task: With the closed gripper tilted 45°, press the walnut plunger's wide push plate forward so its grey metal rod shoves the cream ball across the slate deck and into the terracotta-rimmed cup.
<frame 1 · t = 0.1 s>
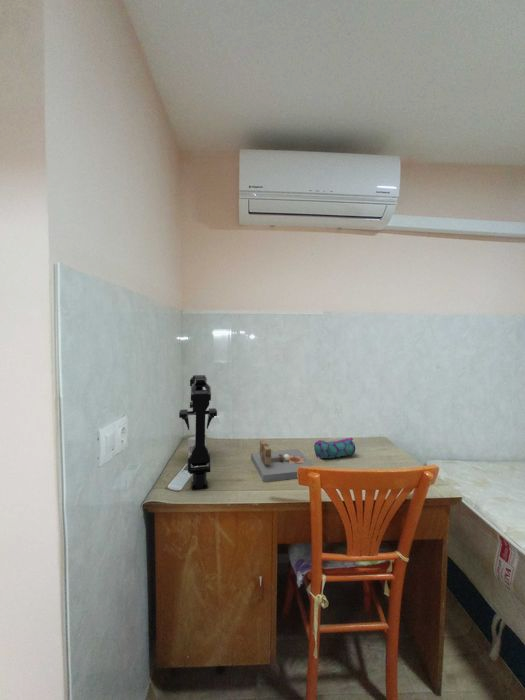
hand: (198, 429, 143), 15 cm above the table, tool pointing down, fingers open, 9 cm apart
pencil case: (334, 456, 149), on the table
ink box: (197, 459, 141), on the table
ball: (286, 457, 135), point 4 cm above the table, touching deck
deck: (282, 466, 135), on the table
plunger: (272, 452, 133), point 8 cm above the table, slide at 0.0 cm
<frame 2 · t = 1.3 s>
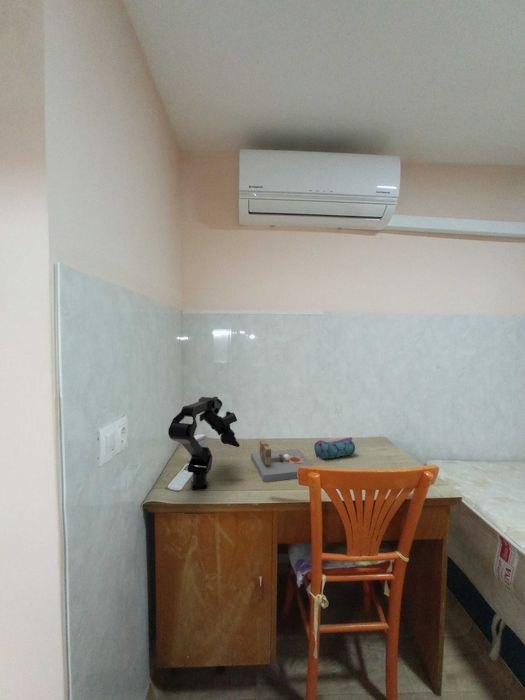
hand: (237, 442, 129), 13 cm above the table, tool tilted 45°, fingers open, 8 cm apart
nothing on the table moved.
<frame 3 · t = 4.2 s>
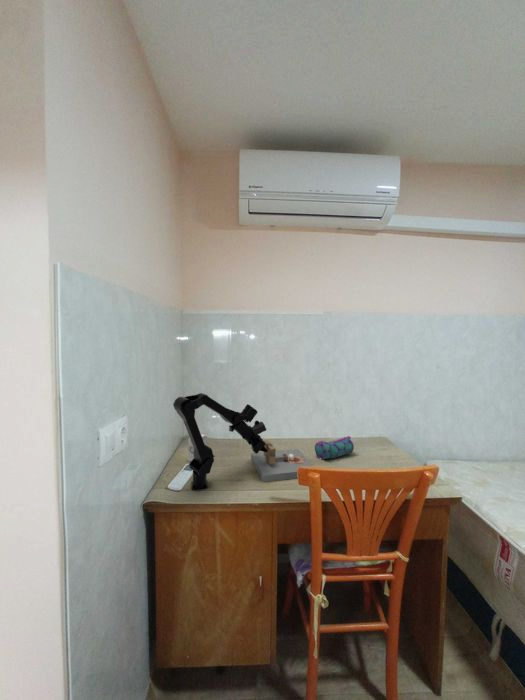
hand: (266, 451, 133), 8 cm above the table, tool tilted 45°, fingers closed, pressing on plunger
ball: (291, 457, 136), point 4 cm above the table, tilted 89°, touching deck
plunger: (277, 452, 134), point 8 cm above the table, slide at 2.1 cm, touching gripper
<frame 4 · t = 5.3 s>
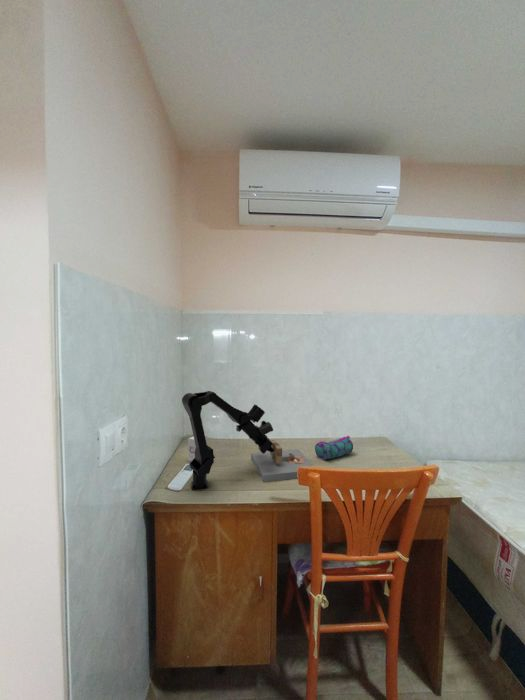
hand: (272, 451, 133), 8 cm above the table, tool tilted 45°, fingers closed, pressing on plunger
ball: (294, 462, 137), point 1 cm above the table, tilted 164°
plunger: (283, 451, 135), point 8 cm above the table, slide at 5.4 cm, touching gripper
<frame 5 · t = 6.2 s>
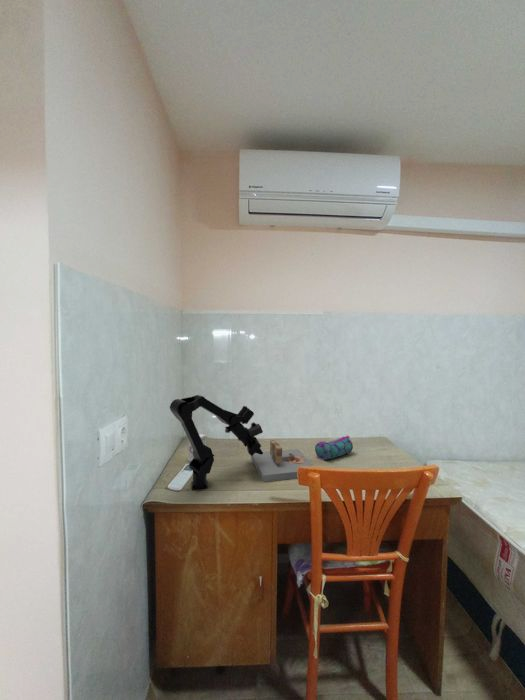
hand: (262, 453, 132), 8 cm above the table, tool tilted 45°, fingers closed
plunger: (283, 451, 135), point 8 cm above the table, slide at 5.4 cm
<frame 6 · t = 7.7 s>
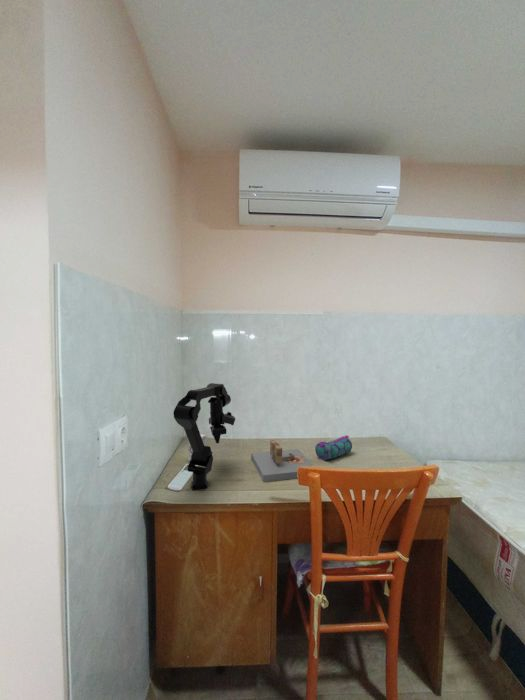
hand: (217, 443, 129), 13 cm above the table, tool pointing down, fingers closed
ball: (293, 462, 137), point 1 cm above the table, tilted 171°
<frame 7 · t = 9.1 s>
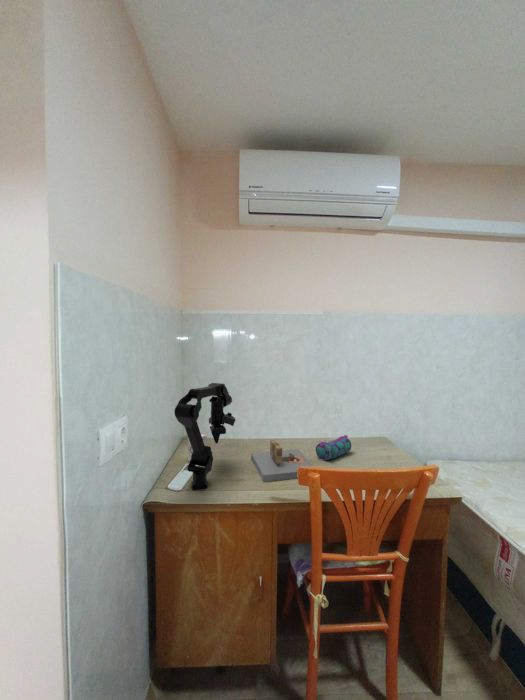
hand: (216, 443, 129), 13 cm above the table, tool pointing down, fingers closed
ball: (294, 462, 137), point 1 cm above the table, tilted 179°
at the end: ball 0.4 cm from the target spot on the deck, point 1.5 cm above the deck's base; plunger slide at 5.4 cm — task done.
